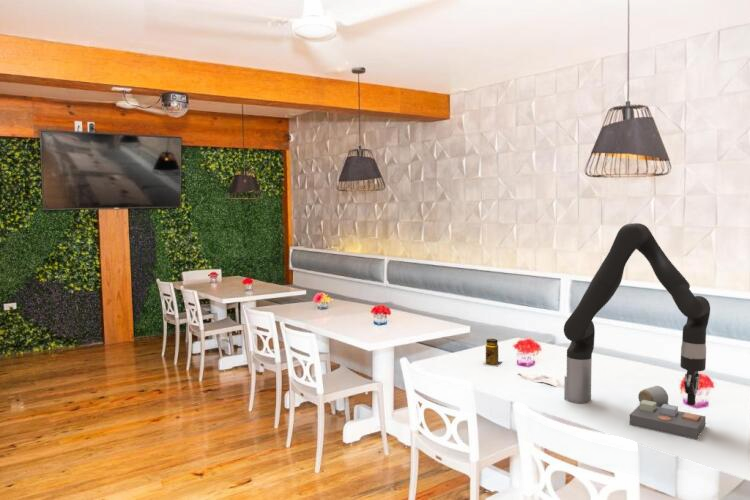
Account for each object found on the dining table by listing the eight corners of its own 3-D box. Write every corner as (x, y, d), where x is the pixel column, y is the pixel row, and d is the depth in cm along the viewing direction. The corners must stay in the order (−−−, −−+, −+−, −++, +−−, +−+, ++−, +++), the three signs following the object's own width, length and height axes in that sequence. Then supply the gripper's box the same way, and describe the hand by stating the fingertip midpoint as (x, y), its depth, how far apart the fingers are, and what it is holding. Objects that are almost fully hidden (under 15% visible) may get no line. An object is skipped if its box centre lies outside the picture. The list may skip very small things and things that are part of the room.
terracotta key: (682, 425, 200) (682, 416, 200) (685, 421, 204) (685, 412, 204) (697, 428, 198) (697, 419, 197) (699, 424, 201) (700, 415, 201)
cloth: (577, 387, 248) (577, 382, 248) (553, 392, 242) (553, 387, 242) (534, 372, 271) (534, 367, 271) (511, 376, 265) (511, 371, 265)
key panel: (629, 424, 205) (629, 413, 204) (640, 413, 215) (641, 402, 215) (696, 439, 191) (697, 427, 191) (705, 426, 202) (705, 415, 202)
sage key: (639, 411, 209) (639, 403, 209) (642, 408, 213) (643, 399, 212) (652, 414, 206) (653, 405, 206) (656, 410, 210) (656, 402, 210)
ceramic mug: (636, 405, 224) (636, 386, 223) (652, 402, 227) (652, 383, 226) (659, 415, 214) (660, 394, 213) (675, 411, 217) (676, 391, 216)
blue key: (660, 416, 205) (660, 407, 204) (663, 412, 208) (663, 403, 208) (674, 419, 202) (674, 409, 202) (677, 415, 205) (677, 406, 205)
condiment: (482, 364, 283) (482, 340, 282) (488, 360, 290) (488, 336, 289) (497, 366, 279) (497, 341, 278) (502, 362, 287) (502, 338, 286)
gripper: (685, 349, 206) (683, 397, 208) (676, 357, 196) (674, 407, 198) (709, 352, 202) (707, 401, 203) (701, 361, 191) (699, 412, 193)
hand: (691, 404), depth 200 cm, fingers closed
